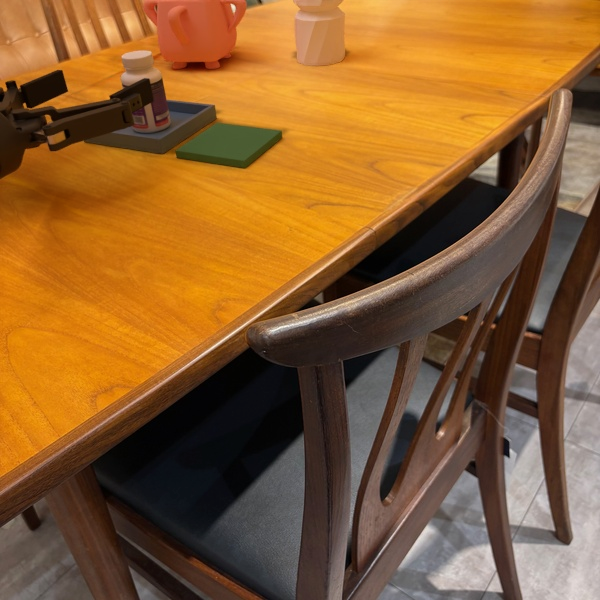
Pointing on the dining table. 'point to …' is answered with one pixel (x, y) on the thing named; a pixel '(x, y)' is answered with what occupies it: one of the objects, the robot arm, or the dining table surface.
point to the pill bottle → (156, 112)
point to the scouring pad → (229, 145)
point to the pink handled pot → (195, 29)
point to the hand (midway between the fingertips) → (105, 84)
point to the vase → (319, 32)
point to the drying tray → (182, 126)
